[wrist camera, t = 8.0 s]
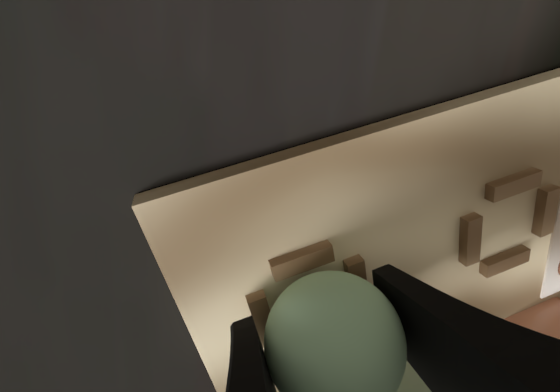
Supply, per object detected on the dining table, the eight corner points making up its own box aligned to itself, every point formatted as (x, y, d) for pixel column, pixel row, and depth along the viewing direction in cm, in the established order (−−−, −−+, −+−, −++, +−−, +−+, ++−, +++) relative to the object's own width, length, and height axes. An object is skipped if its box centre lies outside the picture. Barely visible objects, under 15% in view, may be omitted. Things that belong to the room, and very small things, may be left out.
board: (556, 367, 20) (577, 384, 19) (272, 502, 17) (279, 532, 16) (634, 45, 12) (677, 45, 11) (134, 194, 9) (129, 213, 8)
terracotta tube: (565, 376, 19) (627, 429, 17) (458, 429, 18) (506, 494, 16) (591, 280, 16) (673, 325, 14) (463, 336, 15) (524, 398, 12)
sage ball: (366, 317, 13) (440, 419, 9) (265, 357, 12) (304, 484, 9) (355, 229, 11) (441, 314, 8) (236, 271, 10) (270, 385, 7)
